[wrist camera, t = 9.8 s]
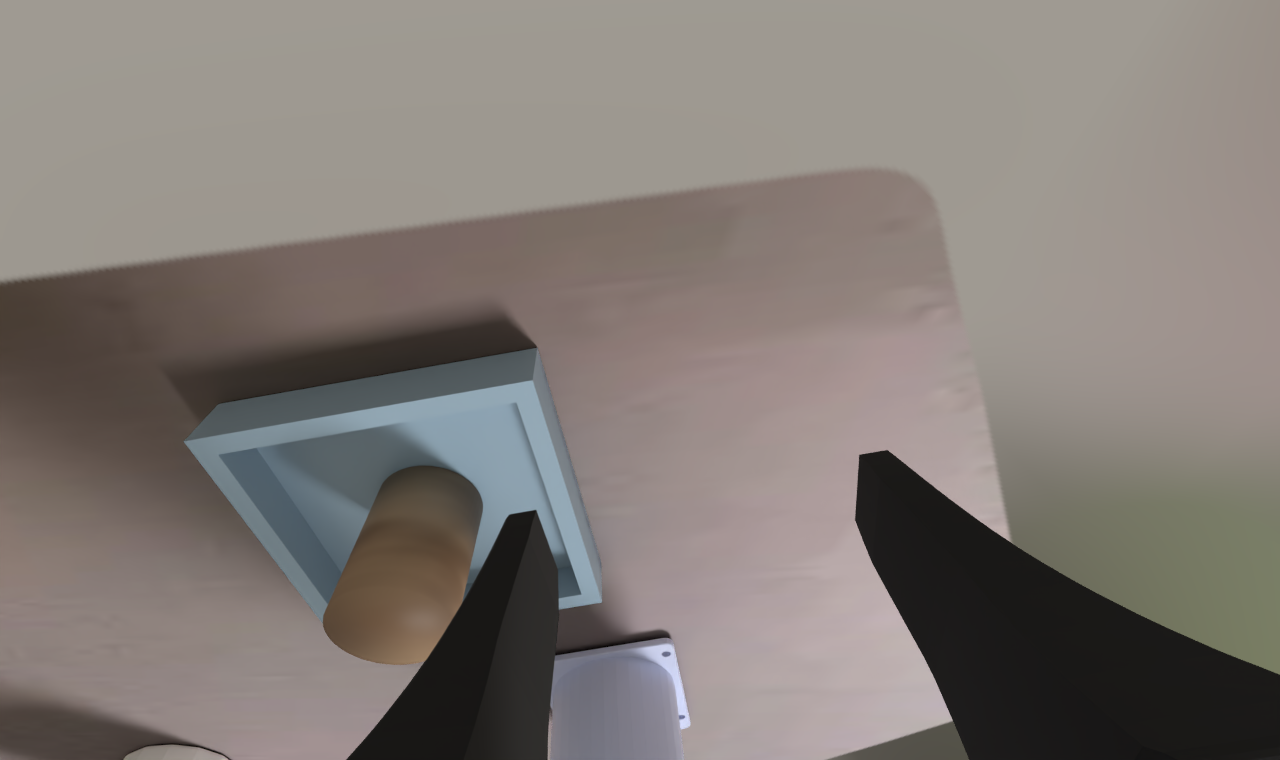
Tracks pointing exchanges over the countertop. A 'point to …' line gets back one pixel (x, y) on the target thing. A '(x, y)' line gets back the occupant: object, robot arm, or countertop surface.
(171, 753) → the white cup
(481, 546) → the light blue square tray
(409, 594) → the tan rounded cylinder
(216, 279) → the countertop surface
